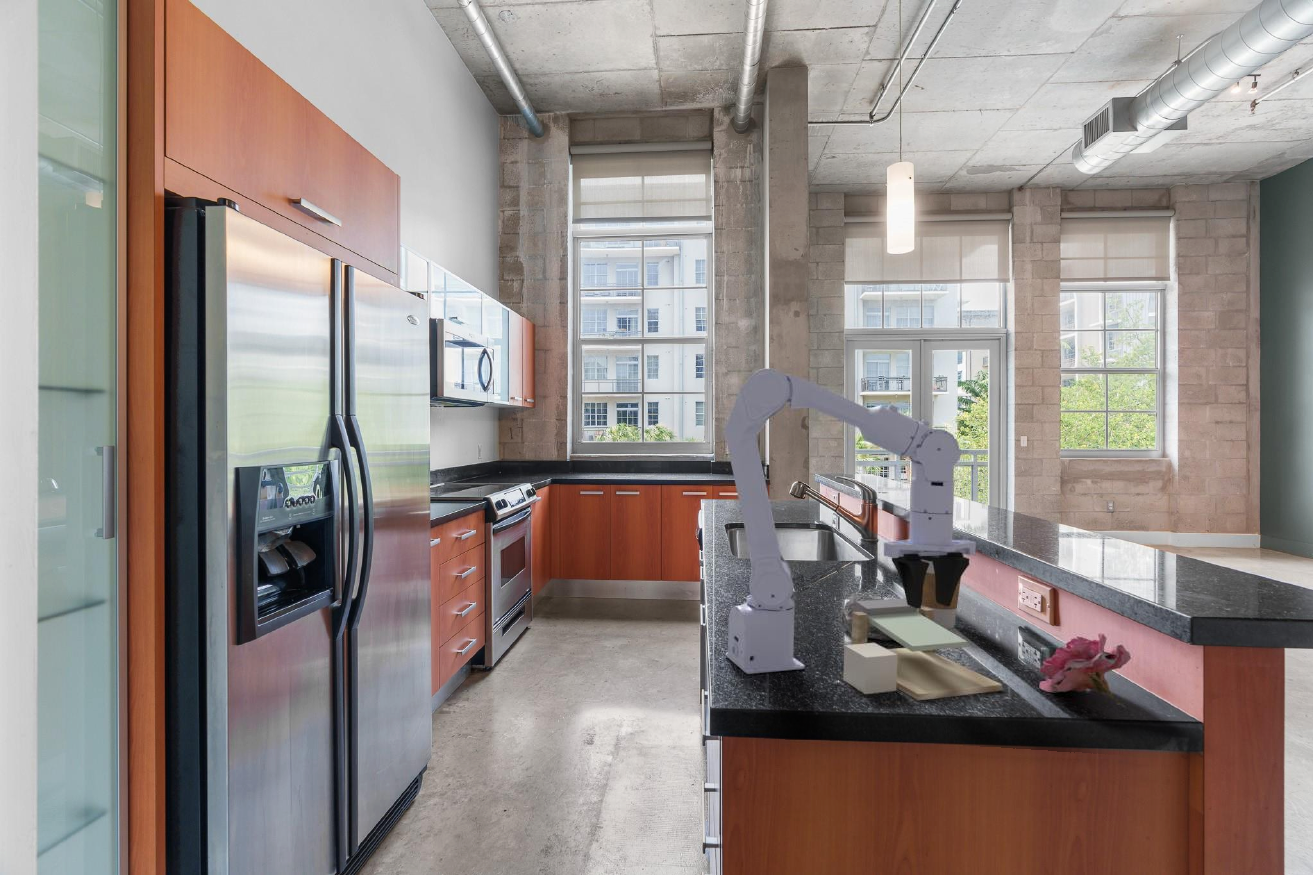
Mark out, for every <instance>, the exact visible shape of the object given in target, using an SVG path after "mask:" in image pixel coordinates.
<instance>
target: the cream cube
mask: <svg viewBox="0 0 1313 875" xmlns="http://www.w3.org/2000/svg"><path fill="white" fill-rule="evenodd" d="M843 646H844V647H843V678H842V679H843V681H844V682H845V683H848V684H849V685H851V686H852V687H853V688H855V689H857V690H858V691H859V692H861V693H863V694H864V695H869V694H878V693H887V692H895V691H897V688H896V685H897V654H895V653H893V652H891V651H889V650H887V649H888V648H886V647H884V646H881V645H879V644H877V643H875V642H867V643H866V644H854V645H851V644H844V645H843Z"/></svg>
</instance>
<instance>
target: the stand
mask: <svg viewBox="0 0 1313 875" xmlns="http://www.w3.org/2000/svg"><path fill="white" fill-rule="evenodd" d="M919 614H921V615H923V616H924V617H926V618H928V619H929V620H931V621H933V622H934V610H933V609H930V608H928V607H925V608H919ZM867 621H868V615H867V614H865V613H863V612H852V635H851V644H850V645H854V644H866V643H868V638H867ZM886 649H887V650H889V651H891V652H893V653H895V654H897V685H896V689H898V690H900V691H901V692H903V693H905V695H906V694H907V695H908V696H910V697H911V698H913V699H915V700H916V701H924V700H925V701H926V700H933V699H942V698H943V699H944V698H949V697H951V698H952V697H957V696H968V695H974V694H982V693H992V692H1000V691H1001V692H1002V691H1003V684H1001V683H1000V682H998V681H995V680H993V679H991V678H989V677H986V676H985V675H982V674H981V673H978V672H976V671H974V670H972V669H971V668H967V667H965V666H963V665H962V664H959V663H957V662H954V661H953V660H951V659H948V658H946V657H944V656H942V655H940V654H938V653H936V652H934V650H926V651H915V652H912V651H910V650H909V649H907V648H906V647H901V648H899V647H898V648H897V647H896V648H886Z"/></svg>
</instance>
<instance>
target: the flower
mask: <svg viewBox="0 0 1313 875" xmlns="http://www.w3.org/2000/svg"><path fill="white" fill-rule="evenodd" d="M1106 642H1107V637H1106V635H1105V634H1104V633H1102V632H1099V633H1098V639H1093V640H1091V639H1088V638H1086V637H1083V636H1077V635H1076V637H1073V638H1071V639H1070V641H1068V642H1066V643H1065V646H1066V647H1063V646H1061V647H1059V648H1056V650H1055V653H1054V654H1053V655H1052V657H1051V658H1046V659H1044V660H1043V661H1042V663H1043V664H1042V665H1041V667H1040V668H1039V670H1038V672H1040V673H1041V674H1043V675H1044V676H1046V677H1045V678H1044V680H1043V681H1040V682H1039V686H1038V687H1039V689H1041V690H1042V691H1045V692H1046V693H1052V694H1055V693H1059V692H1068V691H1075V692H1083V691H1086V690H1090V691H1095V692H1097V693H1099V694H1102V695H1104V696H1107V695H1108V697H1110V698H1111V699H1114V700H1115V701H1117V703H1119V704H1120V705H1122V706H1123V707H1124V708H1125V707H1126V706H1124V705H1123V704H1122V703H1121V702H1119V701H1118V700H1117V699H1116V698H1115V697H1114V695H1113V693H1112V692H1111V690H1110V687H1109V683H1108V681H1107V679H1106V677H1105V675H1106V673H1108V672H1111V671H1113V670H1119V669H1121V668H1123V666H1125V665H1126V664H1127V663H1128V662H1129V661H1130V660H1131V659H1132V657H1131V654H1130V652H1129V651H1127V650H1126V648H1125V647H1124V645H1123V644H1118V645H1117V646H1114V648H1112V649H1111V650H1109V652H1108V651H1105V646H1106V644H1107V643H1106ZM1047 677H1048V678H1047Z"/></svg>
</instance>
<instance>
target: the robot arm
mask: <svg viewBox="0 0 1313 875" xmlns="http://www.w3.org/2000/svg"><path fill="white" fill-rule="evenodd" d="M787 403H789V408H788V409H789V410H798V409H812V410H814V411H816V412H818V413H821V414H824V415H827V416H828V417H831V418H833V419H836V420H838V421H840V422H843V423H845V424H848V425H851V426H854V427H855V428H858V429H859V432H860V434H861V437H862V439H863V441H865V442H868V443H870V444H872V445H875V446H876V447H878V448H880V449H883V450H886V451H888V452H889V453H893V454H894V455H896V456H899V457H902V458H907V457H908V458H909V460H910V462H911V463H912V468H911V469H912V470H911V471H912V472H911V473H912V474H911V476H912V478H911V480H910V506H909V507H910V510H909V538H908V539H903V540H895V541H884V542H883V556H885V557H889V558H891V562H892V564H893V565H894V567H895V568H896V571H897V573H898V575H899V578H900V580H901V584H902V587H903V590H904V595H905V599H906V600H907V605H909V606H912V607H914V608H921V605H922V597H923V584H924V579H925V575H926V572H927V569H928V567H929V565H930V564H929V563H928V562H924V561H921V558H919V556H931V559H932V563H933V567H934V573H935V596H936V602H937V603H939V604H942V605H944V606H950V605H951V601H952V598H953V595H954V592H955V589H956V586H957V584H958V582H959V579H960V578H961V579H962V577H963V576H962V575H963V574H964V573H965V571H966V569H968V568H969V566H970V558H968V557H965V556H964V557H962V554H963V555H968V556H976V548H977V546H976V544H977V542H976V541H972V540H967V539H953V533H954V532H953V531H954V501H955V500H954V498H955V481H954V478H955V477H954V476H955V475H954V473H955V472H954V470H955V465H956V464H957V463H958V462H959V460H960V458H961V455H962V449H961V448H960V446H959V442H958V440H957V438H955V436H954V434H952V433H951V432H950V431H947V430H945V429H939V428H938V429H937V428H936V429H934V428H929V426H930V424H931V423H930V421H929V420H926V419H922V420H921V421H919V420H917V419H915V418H913V417H911V416H907V415H906V414H903V413H901V412H898V411H899V409H900V408H899V406H896V405H894V404H889V405H888V406H885V405H883V404H880V405H879V404H878V405H876V406H874V407H871V408H867V407H865V406H863V405H860V404H859V403H856V402H854V401H853V400H851V399H849V398H846V397H844V396H841V395H840V394H837V393H835V392H834V391H831V390H829V389H827V388H825V387H824V386H821V385H819V384H816V383H815V382H812V381H809V380H808V379H807V380H806V379H805V378H801V377H800V376H799V377H798V376H797V375H793V374H788V373H786V375H785V374H783V373H782V372H781V371H779V370H777V369H774V368H762V369H759V370H757V371H755V372H753V374H752V375H751V376H750V377H749V378H748V379H747V380H746V381H745V382H744V383H743V385H742V386H741V387H740V388H739V391H738V393H737V397H736V399H735V402H734V404H733V407H732V409H731V412H730V414H729V417H728V419H727V421H726V424H725V427H724V436H725V440H726V445H727V449H728V454H729V458H730V459H729V460H730V464H731V469H732V474H733V478H734V483H735V488H736V493H737V497H738V503H739V506H740V511H741V516H742V522H743V526H744V531H745V535H746V540H747V547H748V554H749V560H750V566H751V570H750V578H749V582H748V588H749V593H750V594H749V595H747V596H746V599H745V601H746V602H744V603H742V604H740V605H734V606H733V607H731V608H730V611H729V615H728V625H727V626H728V628H727V629H728V631H727V632H728V633H727V652H725V656H726V657H727V659H729V660H730V661H731V662H732V663H734V664H735V665H736V666H737V667H738V668H740V669H741V670H742V671H743V672H744V673H746V674H747V675H753V674H760V673H761V674H762V673H773V672H781V671H782V672H783V671H793V670H803V669H805V666H806V665H805V664H804V663H802V662H801V661H799V660H798V659H796V658H795V657H794V639H795V638H794V637H795V636H794V635H795V633H794V632H795V606H796V605H795V604H796V603H795V601H794V599H792V598H791V597H792V596H793V593H794V583H793V579H792V569H791V567H790V565H789V562H787V561H786V560H785V559H784V556H783V554H782V552H781V547H780V543H779V539H778V536H777V530H776V525H775V520H774V517H773V516H774V515H773V511H772V507H771V501H770V497H769V492H768V488H767V483H766V478H765V474H764V469H763V465H762V459H761V456H760V451H759V447H758V446H759V444H758V441H757V437H758V434H759V433H760V432H761V430H762V429H763V428H764V426H765V425H766V423H767V421H768V420H769V419H770V418H772V417H773V416H774V415H776V414H777V413H778V412H780V411H781V410H783V408H784V407H785V405H786V404H787Z"/></svg>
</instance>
